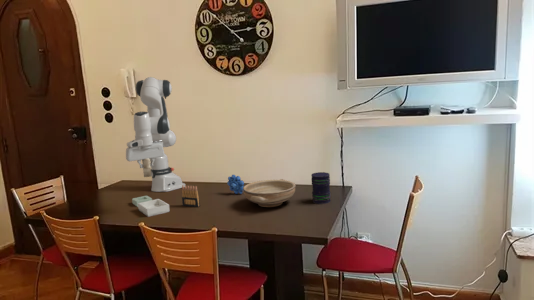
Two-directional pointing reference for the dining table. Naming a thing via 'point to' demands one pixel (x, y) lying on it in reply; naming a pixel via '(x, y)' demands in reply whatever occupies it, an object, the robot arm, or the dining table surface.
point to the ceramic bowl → (269, 192)
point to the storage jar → (321, 188)
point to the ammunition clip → (190, 196)
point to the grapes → (235, 184)
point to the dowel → (146, 167)
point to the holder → (140, 200)
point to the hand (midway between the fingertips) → (146, 167)
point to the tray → (153, 207)
